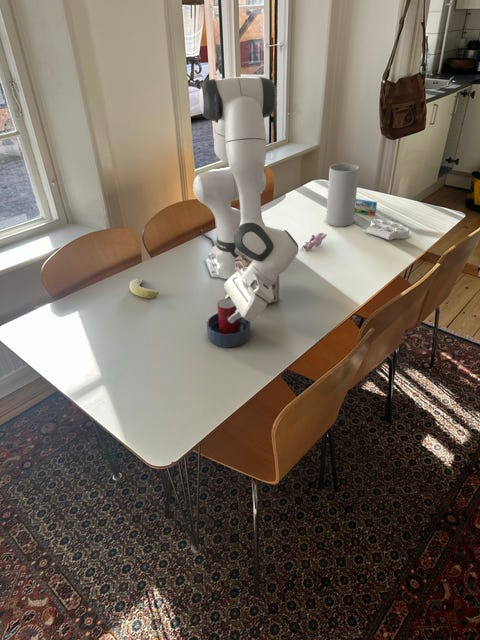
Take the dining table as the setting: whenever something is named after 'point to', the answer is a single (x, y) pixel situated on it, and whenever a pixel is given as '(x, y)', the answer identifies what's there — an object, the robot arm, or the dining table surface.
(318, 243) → the pink antlered figurine
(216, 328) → the bowl
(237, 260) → the decorative jar
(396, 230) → the egg carton
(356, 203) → the colorful printed box
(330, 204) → the cylinder vase
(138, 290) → the fruit
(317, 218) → the dining table surface
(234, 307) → the can
